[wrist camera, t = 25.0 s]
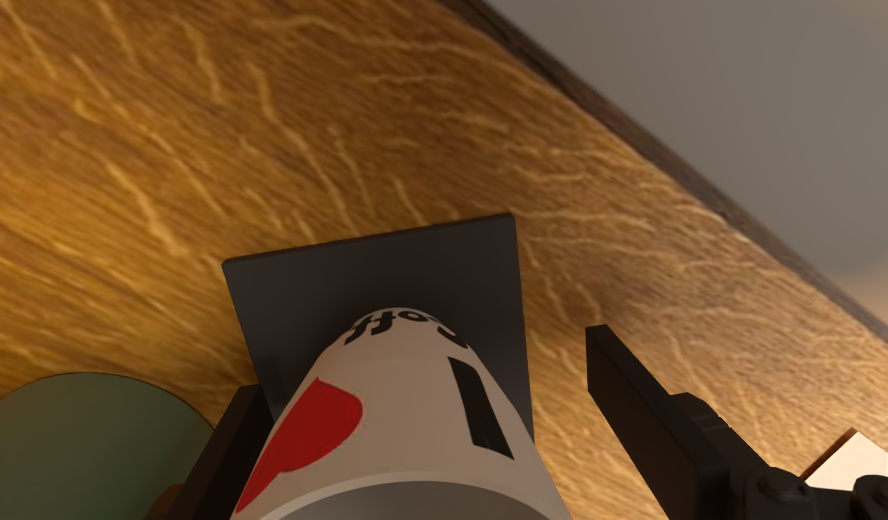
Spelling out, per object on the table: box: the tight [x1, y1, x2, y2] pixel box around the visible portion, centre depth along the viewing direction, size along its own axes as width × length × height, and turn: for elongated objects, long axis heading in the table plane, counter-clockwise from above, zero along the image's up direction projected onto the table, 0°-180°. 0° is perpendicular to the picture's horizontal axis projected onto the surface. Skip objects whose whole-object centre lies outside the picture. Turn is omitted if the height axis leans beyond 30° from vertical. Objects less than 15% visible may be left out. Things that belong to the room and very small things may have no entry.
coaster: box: [221, 213, 535, 445], centre depth 19 cm, size 11×11×1 cm
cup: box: [230, 308, 573, 520], centre depth 14 cm, size 8×8×10 cm
